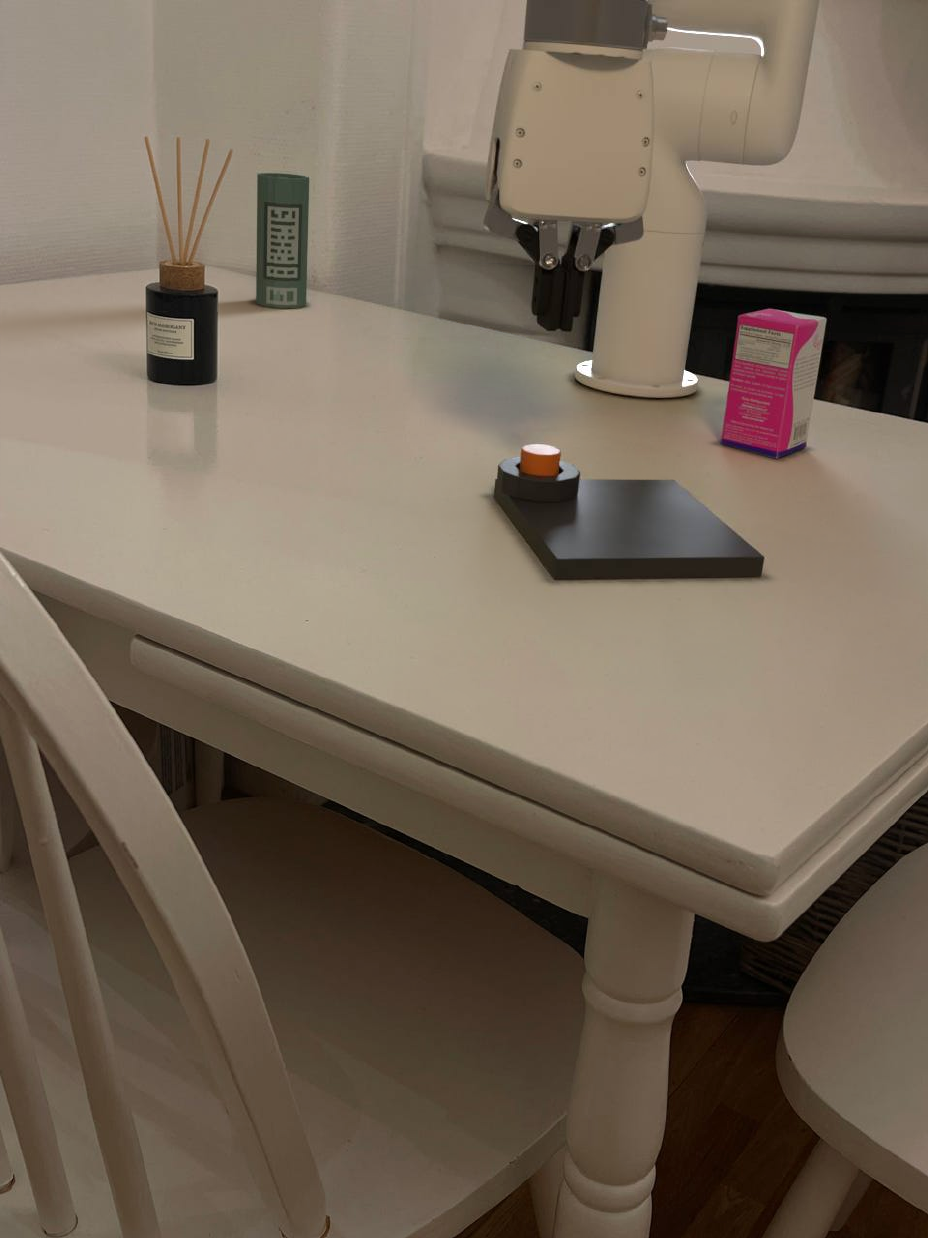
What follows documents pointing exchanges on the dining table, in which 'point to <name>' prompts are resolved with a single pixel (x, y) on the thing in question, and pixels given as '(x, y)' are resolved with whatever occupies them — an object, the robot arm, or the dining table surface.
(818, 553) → the dining table surface
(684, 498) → the scale
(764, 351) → the supplement box
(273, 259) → the can
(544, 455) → the tare button
